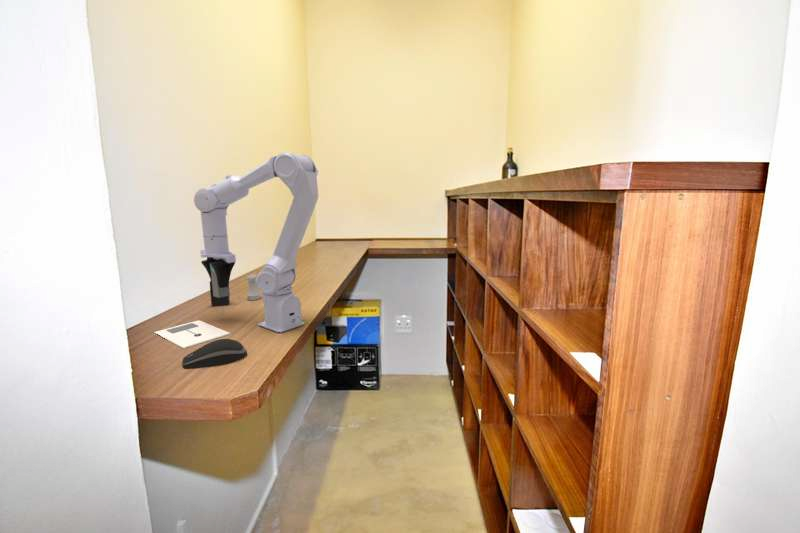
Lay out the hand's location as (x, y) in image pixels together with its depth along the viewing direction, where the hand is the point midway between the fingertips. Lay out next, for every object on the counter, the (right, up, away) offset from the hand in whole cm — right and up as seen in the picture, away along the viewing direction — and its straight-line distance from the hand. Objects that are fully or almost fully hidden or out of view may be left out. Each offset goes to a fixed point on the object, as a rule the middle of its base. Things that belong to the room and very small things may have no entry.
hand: (220, 286), depth 102 cm
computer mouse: (+9, -15, -22) cm, 28 cm away
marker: (0, -3, 0) cm, 3 cm away
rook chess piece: (0, -6, +23) cm, 23 cm away
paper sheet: (-3, -11, -8) cm, 14 cm away
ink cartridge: (-7, -7, +16) cm, 19 cm away
